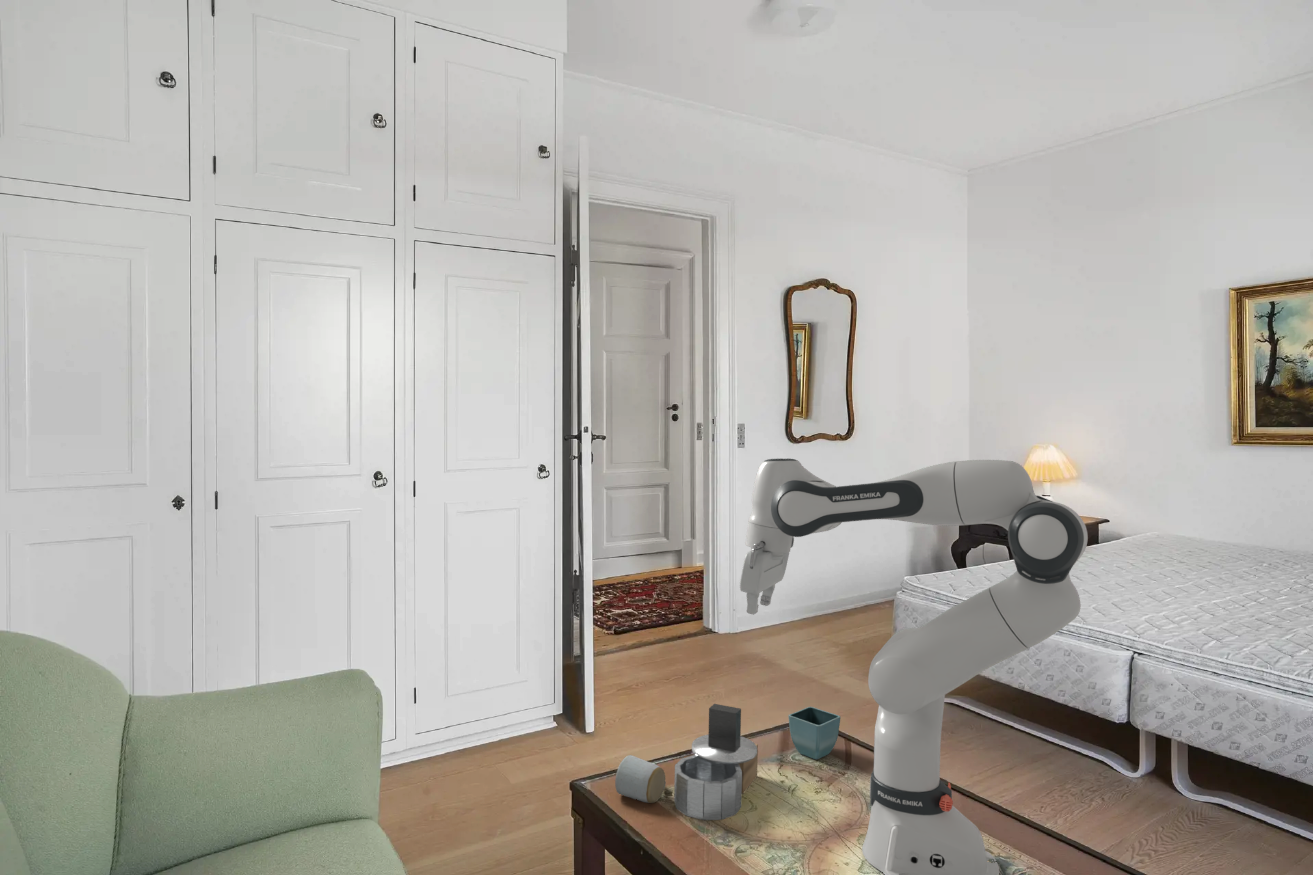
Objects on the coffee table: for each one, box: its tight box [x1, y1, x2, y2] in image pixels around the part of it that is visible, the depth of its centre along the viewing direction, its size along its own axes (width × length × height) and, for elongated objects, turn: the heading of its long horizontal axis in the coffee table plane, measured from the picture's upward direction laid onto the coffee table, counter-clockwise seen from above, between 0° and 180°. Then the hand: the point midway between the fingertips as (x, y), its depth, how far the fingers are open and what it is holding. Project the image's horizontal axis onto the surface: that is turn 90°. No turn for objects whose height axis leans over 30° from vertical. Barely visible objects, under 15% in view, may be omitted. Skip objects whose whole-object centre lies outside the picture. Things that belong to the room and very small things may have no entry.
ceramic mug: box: [614, 754, 667, 804], centre depth 159 cm, size 11×8×8 cm
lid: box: [691, 703, 757, 764], centre depth 164 cm, size 14×14×9 cm
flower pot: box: [788, 706, 841, 760], centre depth 180 cm, size 9×9×9 cm
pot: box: [673, 754, 743, 821], centre depth 156 cm, size 13×13×7 cm
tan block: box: [739, 743, 759, 795], centre depth 166 cm, size 10×9×7 cm
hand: (758, 609), depth 153 cm, fingers open, 8 cm apart
